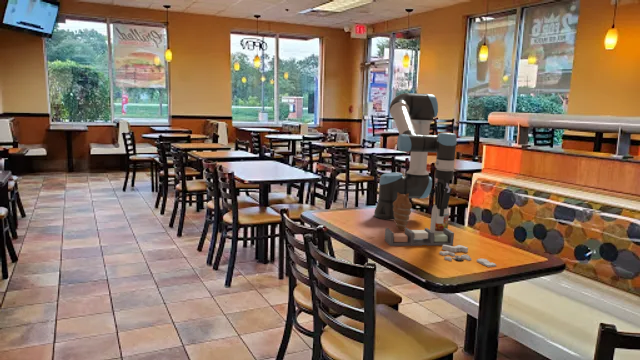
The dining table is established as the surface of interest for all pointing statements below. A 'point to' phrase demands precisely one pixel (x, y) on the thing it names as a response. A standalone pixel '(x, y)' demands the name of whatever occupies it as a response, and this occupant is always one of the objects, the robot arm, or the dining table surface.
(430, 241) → the keypad
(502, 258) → the dining table surface
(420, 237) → the cream key
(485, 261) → the white puzzle pieces
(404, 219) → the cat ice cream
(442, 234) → the sage key
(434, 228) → the milk bottle
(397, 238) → the brown flat block
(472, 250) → the dining table surface
